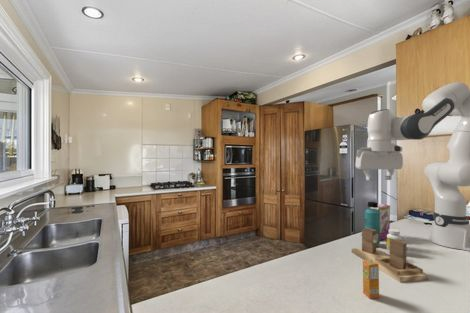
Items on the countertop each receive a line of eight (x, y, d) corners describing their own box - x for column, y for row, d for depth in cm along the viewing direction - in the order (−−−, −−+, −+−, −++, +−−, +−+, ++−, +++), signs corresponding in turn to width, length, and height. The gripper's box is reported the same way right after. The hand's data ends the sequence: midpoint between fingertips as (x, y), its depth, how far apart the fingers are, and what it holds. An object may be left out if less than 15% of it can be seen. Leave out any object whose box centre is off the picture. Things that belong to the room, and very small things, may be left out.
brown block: (390, 262, 87) (391, 238, 87) (406, 267, 83) (406, 242, 83) (386, 265, 85) (387, 240, 85) (402, 270, 81) (402, 244, 81)
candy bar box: (378, 241, 113) (379, 207, 113) (368, 238, 118) (368, 205, 118) (390, 237, 119) (390, 205, 119) (380, 234, 124) (380, 203, 123)
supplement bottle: (400, 251, 101) (401, 229, 101) (402, 256, 96) (402, 233, 96) (386, 249, 104) (386, 227, 104) (387, 253, 99) (387, 230, 99)
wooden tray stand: (374, 250, 102) (374, 226, 102) (428, 279, 78) (428, 248, 78) (351, 252, 100) (351, 227, 100) (399, 282, 76) (400, 250, 76)
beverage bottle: (376, 242, 111) (376, 200, 111) (383, 248, 105) (383, 203, 105) (361, 241, 112) (362, 200, 112) (368, 247, 105) (368, 203, 105)
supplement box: (361, 292, 70) (361, 259, 70) (372, 291, 71) (372, 259, 71) (368, 299, 67) (369, 264, 67) (379, 298, 67) (380, 264, 67)
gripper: (362, 147, 95) (362, 181, 95) (405, 147, 98) (405, 180, 98) (352, 147, 101) (351, 179, 101) (393, 148, 105) (393, 179, 105)
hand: (378, 180), depth 100 cm, fingers open, 8 cm apart
